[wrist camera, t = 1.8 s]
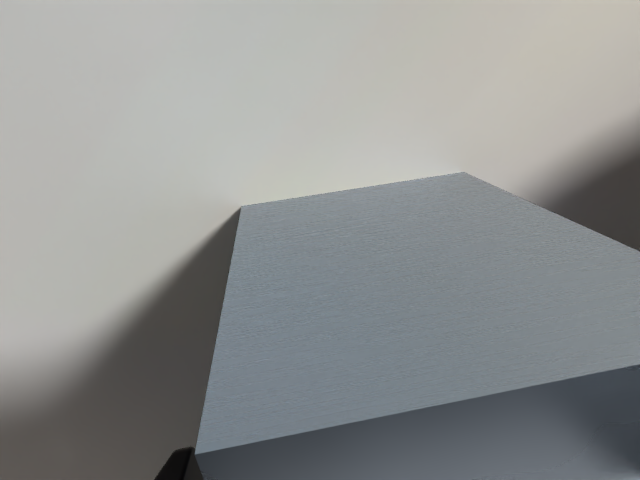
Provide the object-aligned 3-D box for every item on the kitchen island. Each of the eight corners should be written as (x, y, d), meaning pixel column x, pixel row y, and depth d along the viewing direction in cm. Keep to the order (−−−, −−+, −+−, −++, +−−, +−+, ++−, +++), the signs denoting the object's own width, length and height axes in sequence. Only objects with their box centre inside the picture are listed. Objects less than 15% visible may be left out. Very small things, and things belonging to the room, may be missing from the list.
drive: (461, 170, 9) (848, 345, 3) (451, 464, 13) (604, 778, 7) (242, 204, 8) (189, 481, 2) (303, 495, 12) (337, 857, 6)
